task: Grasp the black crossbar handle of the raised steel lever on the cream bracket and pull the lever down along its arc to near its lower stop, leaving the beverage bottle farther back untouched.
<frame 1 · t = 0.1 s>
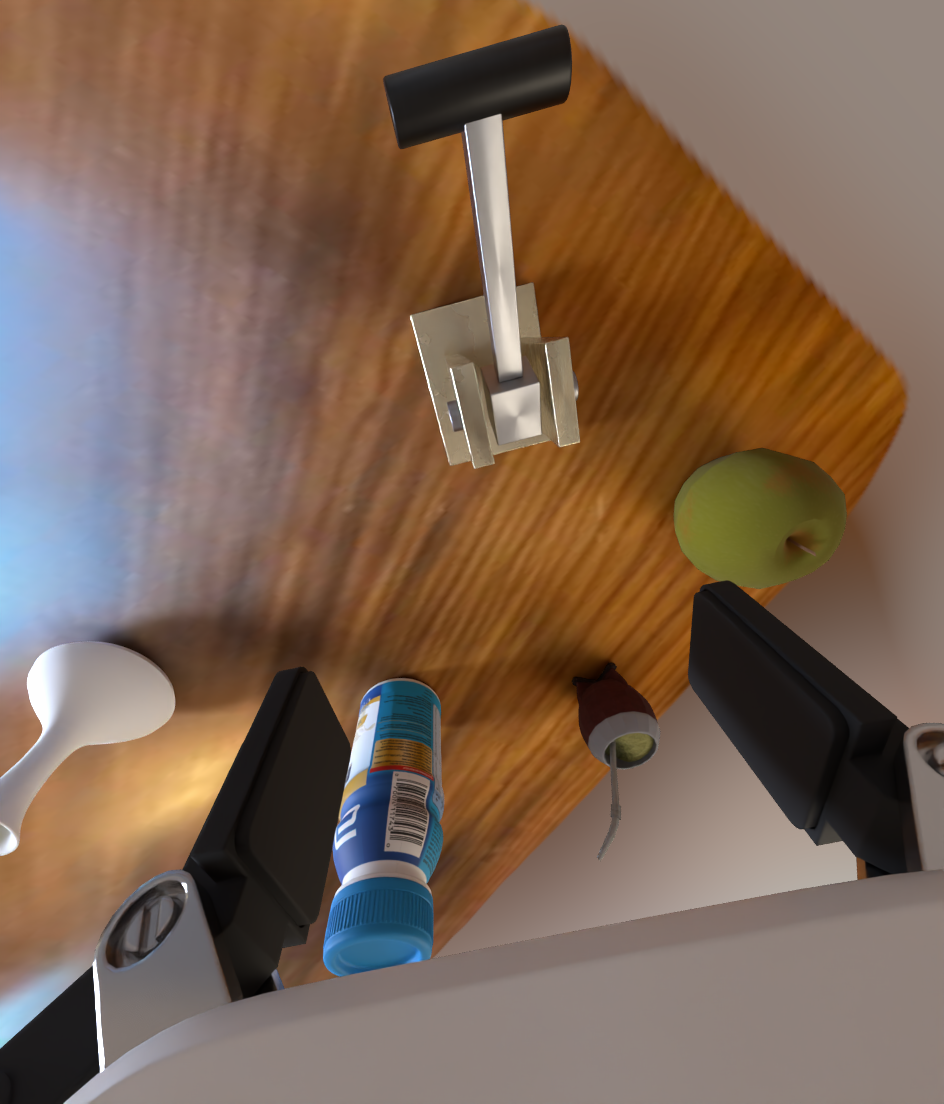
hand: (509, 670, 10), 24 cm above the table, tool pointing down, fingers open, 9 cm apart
flower in vase: (118, 682, 39), on the table
apple: (709, 494, 35), on the table
mate gourd: (594, 685, 44), on the table
lever: (499, 295, 16), point 13 cm above the table, hinge at 25.0°
bracket: (486, 380, 29), on the table
beverage bottle: (401, 702, 43), on the table
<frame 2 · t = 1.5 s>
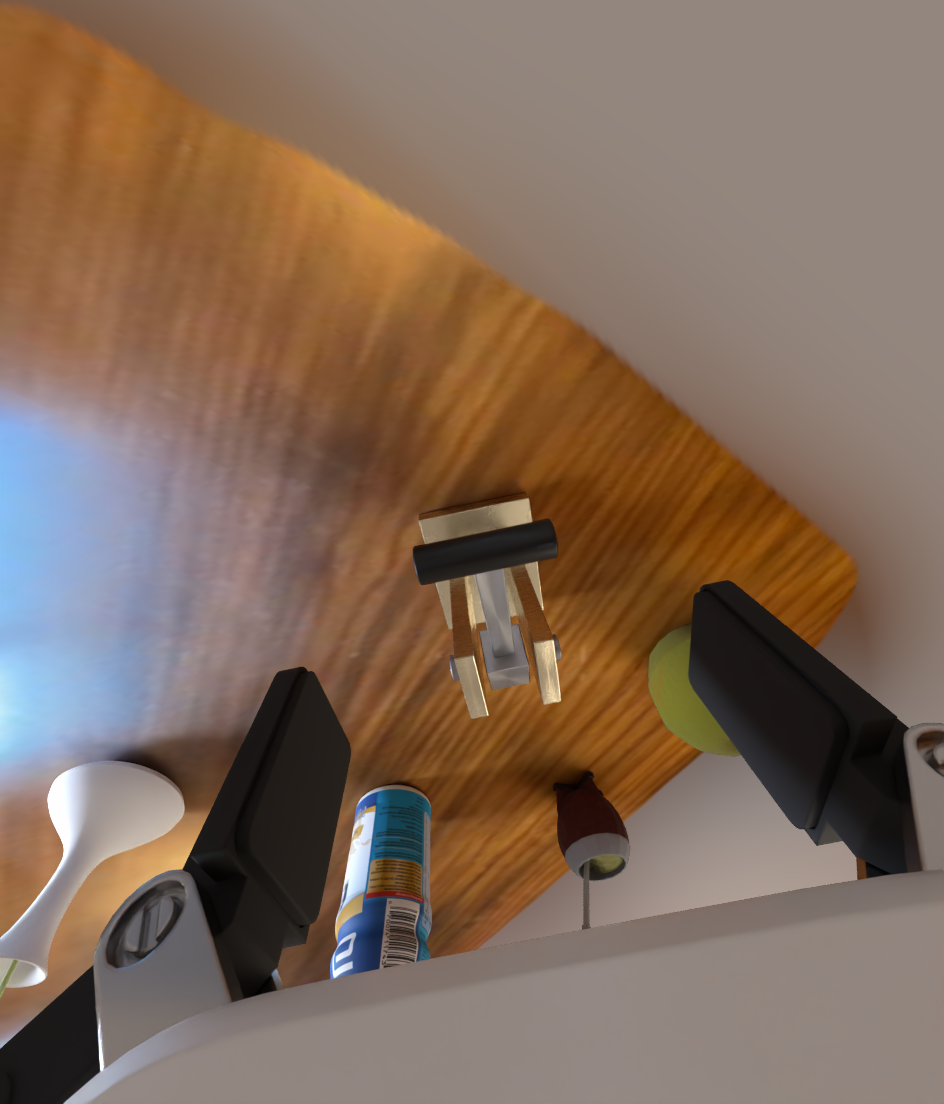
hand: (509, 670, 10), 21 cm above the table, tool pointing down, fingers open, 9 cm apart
flower in vase: (130, 788, 42), on the table
apple: (681, 644, 39), on the table
mate gourd: (573, 789, 48), on the table
lever: (497, 619, 19), point 13 cm above the table, hinge at 25.0°
bracket: (484, 561, 33), on the table
beverage bottle: (394, 803, 46), on the table
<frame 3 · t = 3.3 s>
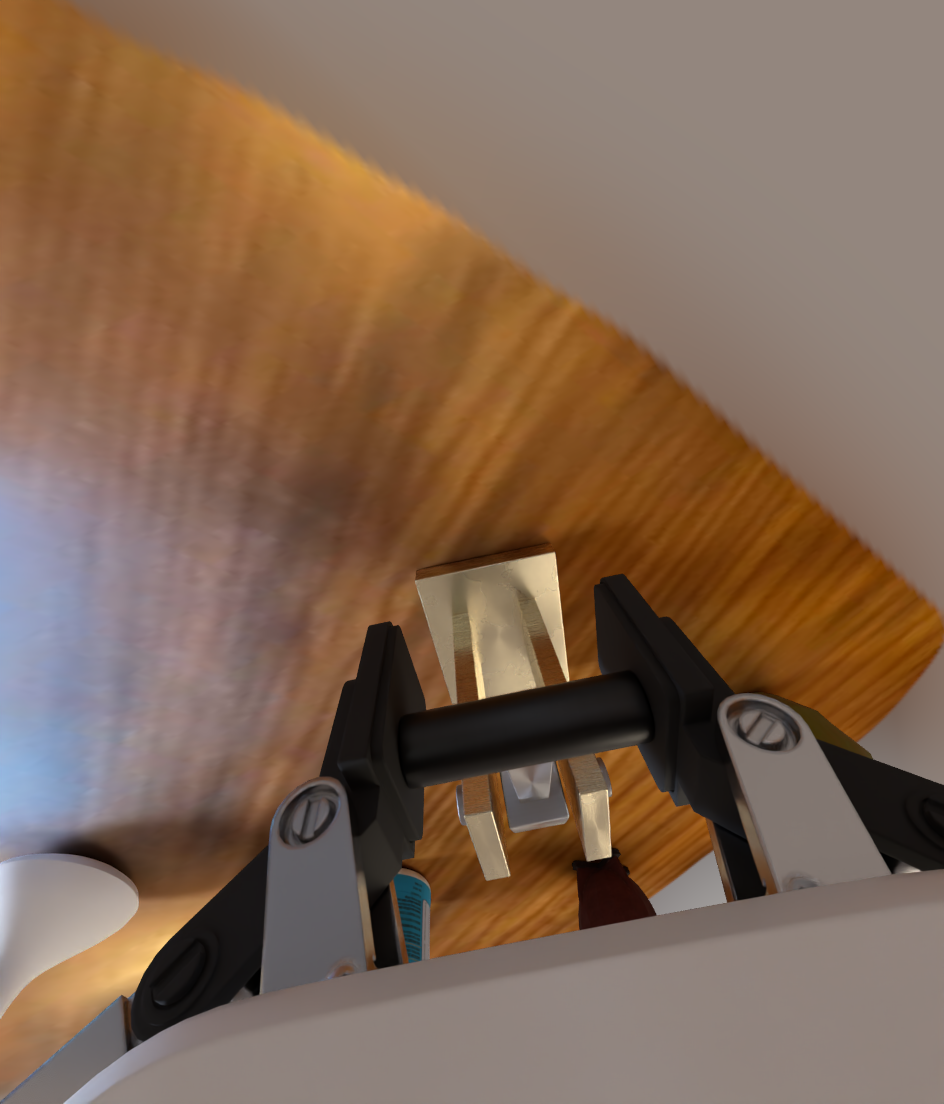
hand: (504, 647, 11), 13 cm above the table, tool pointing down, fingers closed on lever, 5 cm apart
flower in vase: (76, 876, 35), on the table
apple: (729, 712, 32), on the table
mate gourd: (595, 865, 41), on the table
lever: (529, 771, 13), point 13 cm above the table, hinge at 25.0°, touching gripper
bracket: (496, 623, 26), on the table
beverage bottle: (388, 884, 40), on the table
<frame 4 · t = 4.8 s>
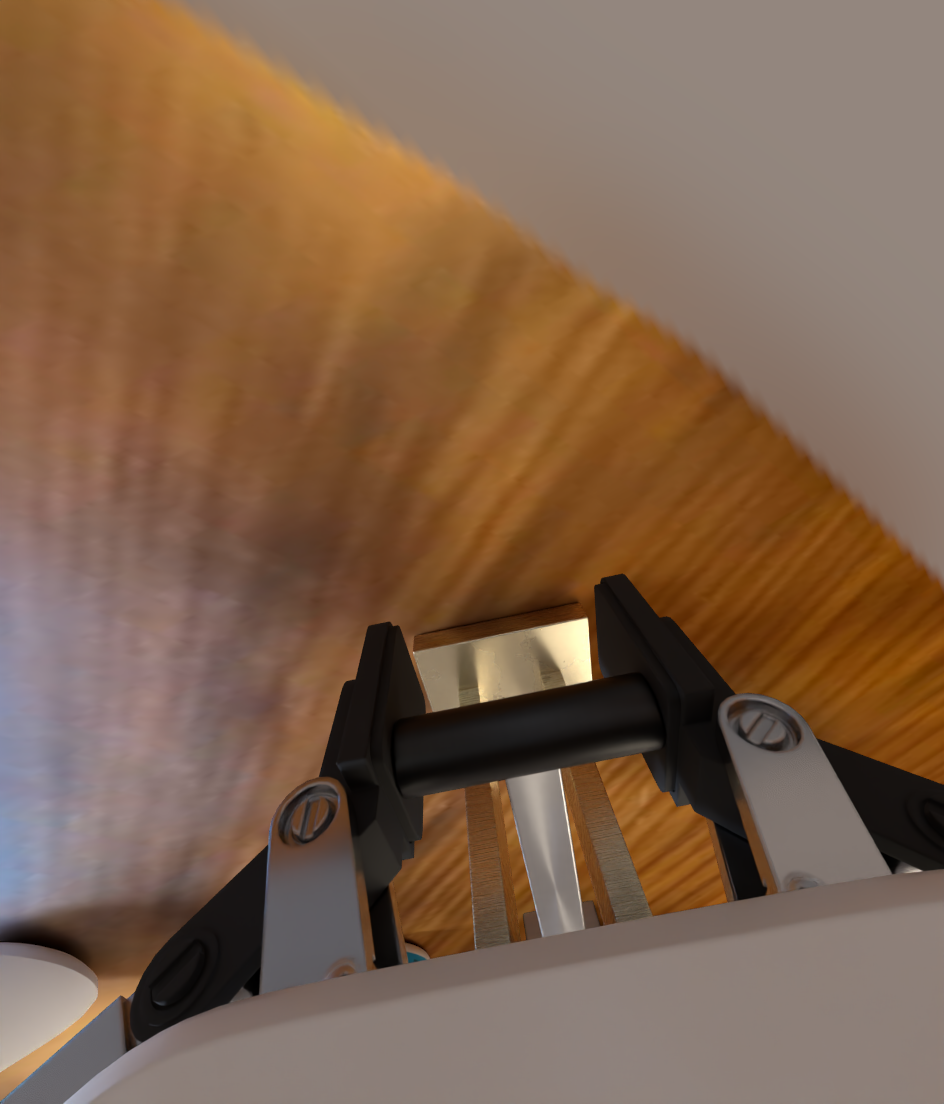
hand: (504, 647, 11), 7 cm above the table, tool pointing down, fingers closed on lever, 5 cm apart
flower in vase: (27, 959, 31), on the table
lever: (555, 889, 10), point 11 cm above the table, hinge at -5.0°, touching gripper
bracket: (511, 693, 22), on the table
beverage bottle: (384, 956, 36), on the table
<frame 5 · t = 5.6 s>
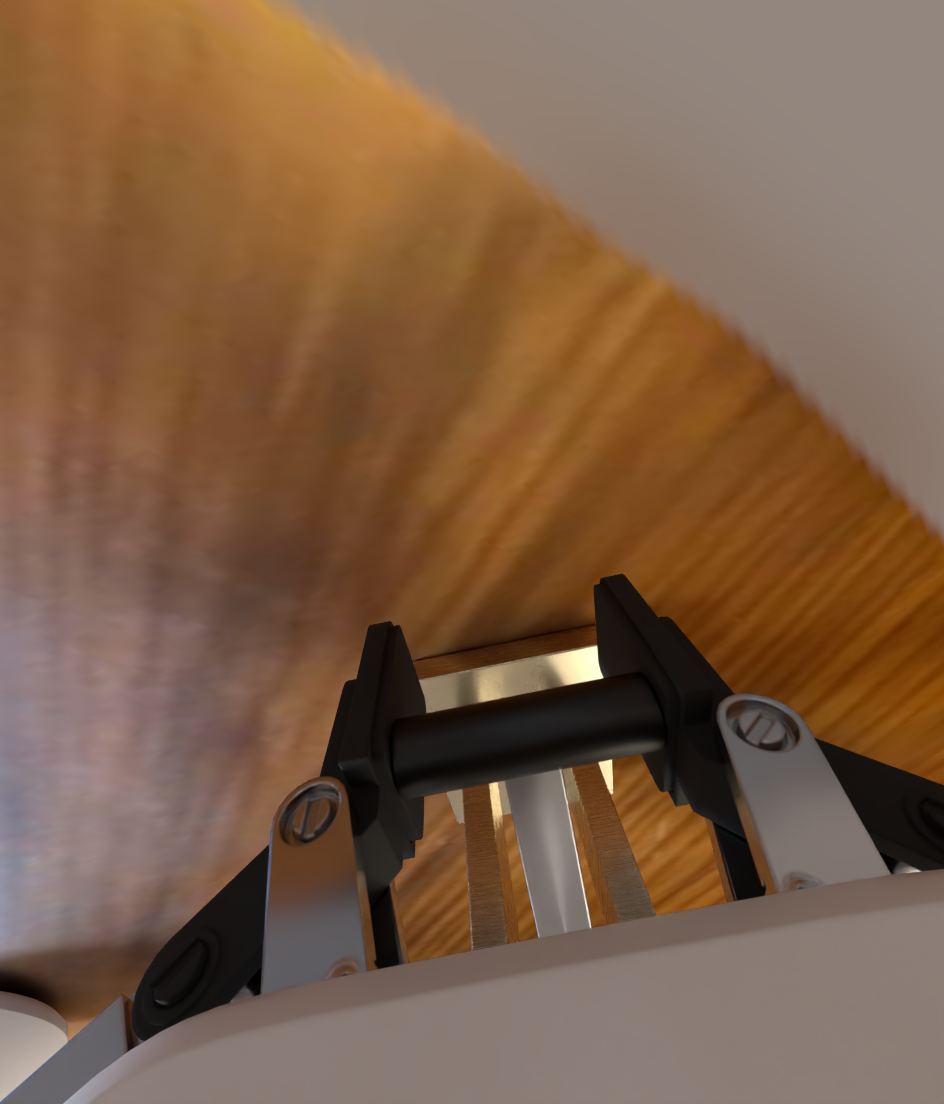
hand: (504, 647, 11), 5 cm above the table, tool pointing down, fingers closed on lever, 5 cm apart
lever: (569, 952, 9), point 10 cm above the table, hinge at -18.2°, touching gripper
bracket: (518, 723, 19), on the table
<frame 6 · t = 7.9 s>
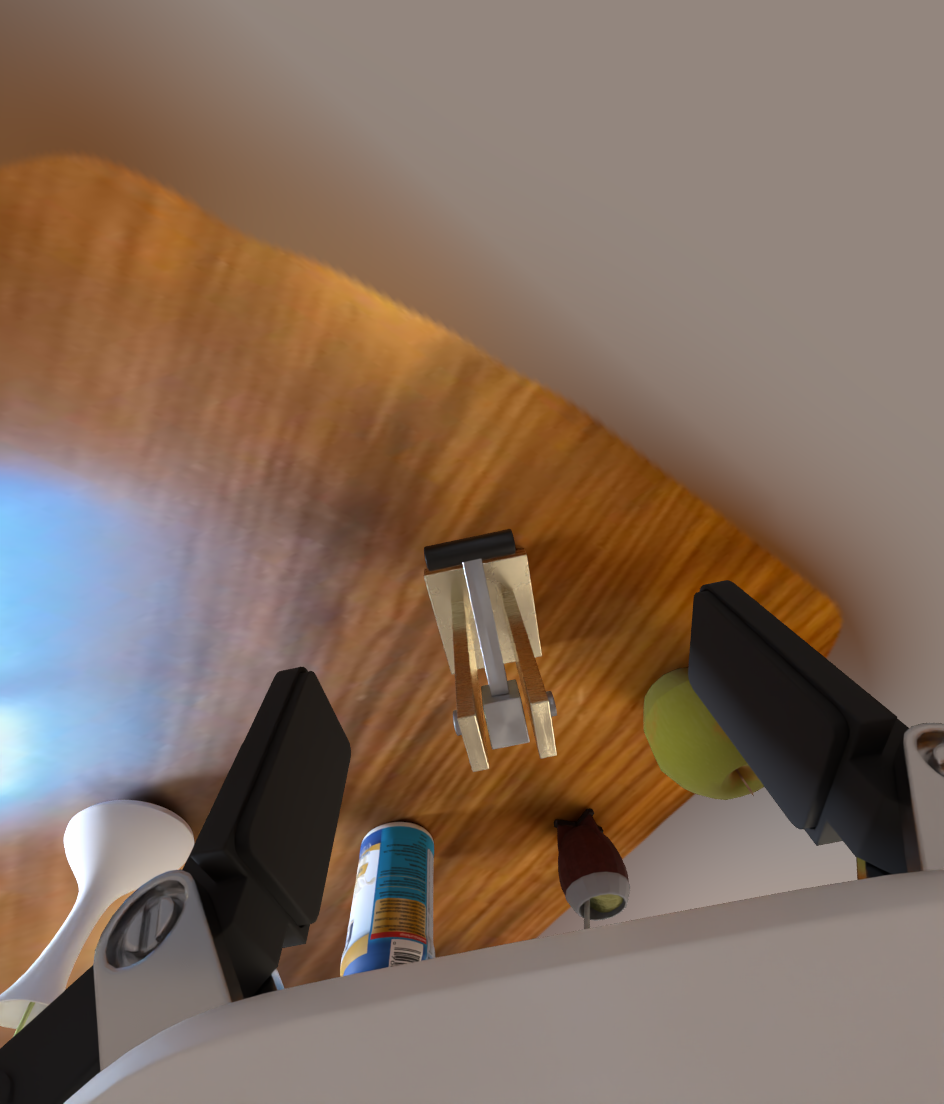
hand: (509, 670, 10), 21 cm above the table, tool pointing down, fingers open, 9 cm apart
flower in vase: (142, 825, 43), on the table
apple: (675, 686, 40), on the table
mate gourd: (574, 825, 49), on the table
lever: (488, 639, 24), point 10 cm above the table, hinge at -18.5°
bracket: (485, 610, 35), on the table
beverage bottle: (398, 839, 47), on the table
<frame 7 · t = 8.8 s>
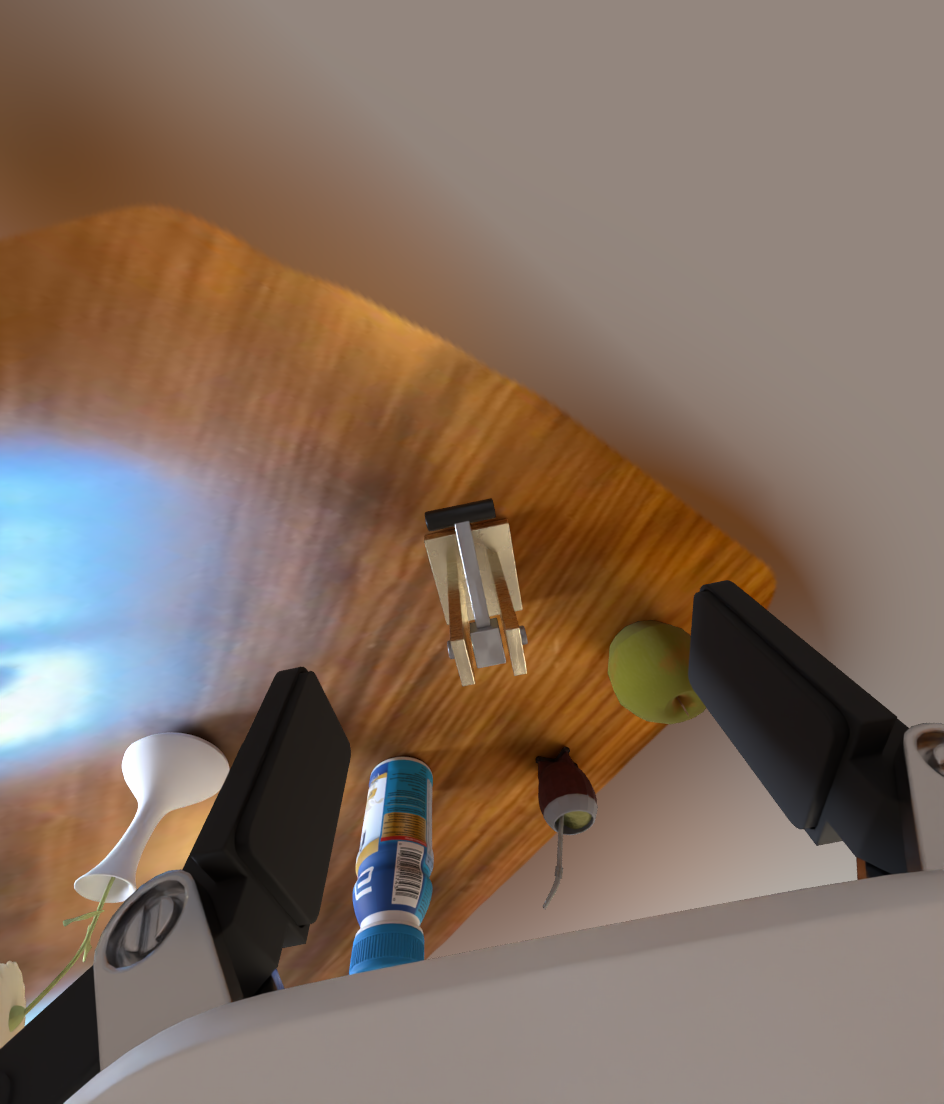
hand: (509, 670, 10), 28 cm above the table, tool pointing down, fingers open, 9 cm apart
flower in vase: (184, 757, 51), on the table
apple: (636, 638, 48), on the table
mate gourd: (553, 762, 57), on the table
lever: (475, 584, 31), point 10 cm above the table, hinge at -18.5°
bracket: (475, 571, 42), on the table
beverage bottle: (402, 773, 55), on the table
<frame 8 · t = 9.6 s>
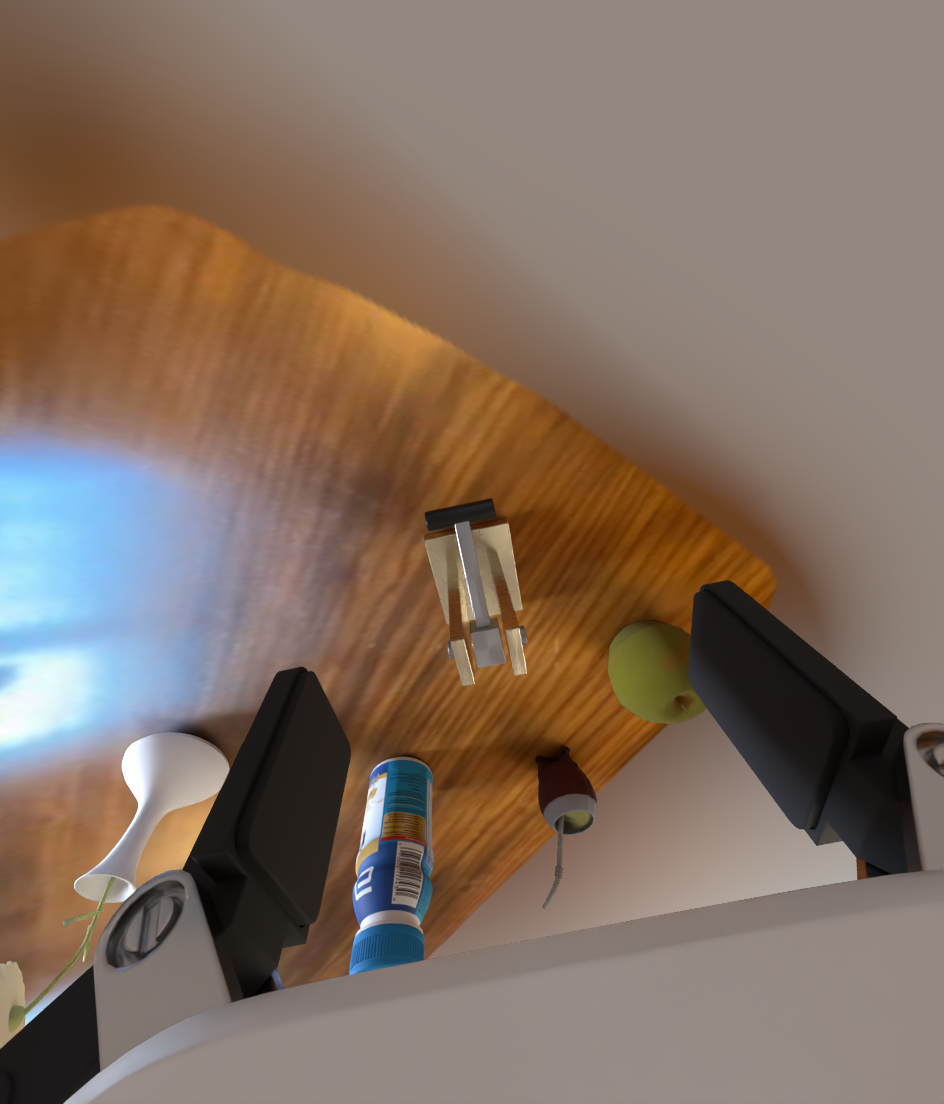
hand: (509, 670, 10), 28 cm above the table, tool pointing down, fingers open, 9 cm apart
flower in vase: (184, 757, 51), on the table
apple: (636, 638, 48), on the table
mate gourd: (553, 762, 57), on the table
lever: (475, 584, 31), point 10 cm above the table, hinge at -18.5°
bracket: (475, 571, 42), on the table
beverage bottle: (402, 773, 55), on the table
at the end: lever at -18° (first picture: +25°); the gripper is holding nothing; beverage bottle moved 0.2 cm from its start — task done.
